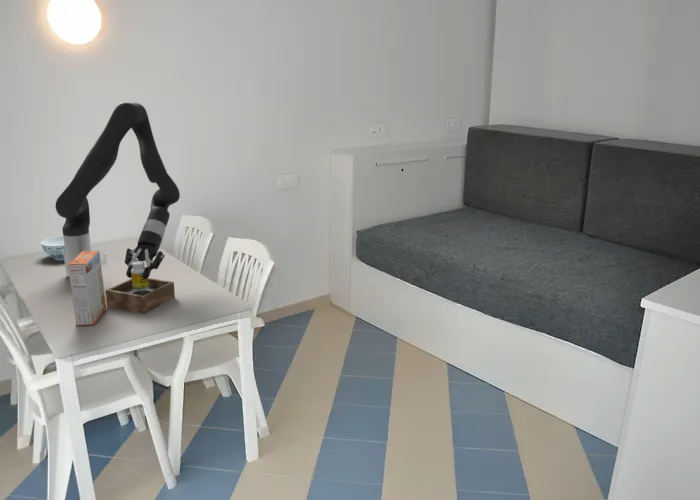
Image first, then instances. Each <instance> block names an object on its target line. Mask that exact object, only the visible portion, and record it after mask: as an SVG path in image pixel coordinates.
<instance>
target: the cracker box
mask: <svg viewBox="0 0 700 500" xmlns="http://www.w3.org/2000/svg"><path fill="white" fill-rule="evenodd" d="M100 253H101V252H100V250H91V251H82V252H81V253H80V254H79V255H78V256H77V257H76V258H75V259H74V260H72V261H71V262H70V263H69V264H68V271H69V277H68V278H69V284H70V290H71V297H72V304H73V305H72V306H73V311H74V317H75V325H76V326H94V325H96V323H97V322H98V320H99V319H100V318H101V316H102V315H103V314H104V313H105V311H106V310H107V301H106V292H105V288H104V287H105V286H104V278H103V270H102V262H101V255H100Z"/></svg>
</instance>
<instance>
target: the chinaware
mask: <svg viewBox="0 0 700 500" xmlns="http://www.w3.org/2000/svg"><path fill="white" fill-rule="evenodd" d="M40 246H41V247H42V249H43V251H44V252H45V254H46V255H48V256H49V257H51V258H53V260H55V261H62V262H63V261H64V252H65V245H64V238H63V235H60V236H53V237H50V238H46V239H44V240H41V242H40Z"/></svg>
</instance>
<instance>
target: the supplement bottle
mask: <svg viewBox="0 0 700 500" xmlns="http://www.w3.org/2000/svg"><path fill="white" fill-rule="evenodd" d="M132 267H133V268H132V269H131V279H132V286H133V290H135V291H143V290H147V289H148V287H149V284H148V278H149V277H148V278H147V280H146V279H143V278H142V275H143V273H144V270H145V261H135V262H133V263H132Z"/></svg>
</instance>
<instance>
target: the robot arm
mask: <svg viewBox="0 0 700 500" xmlns="http://www.w3.org/2000/svg"><path fill="white" fill-rule="evenodd" d="M130 130H132V131H133V133H134V135H135V137H136V139H137V142H138V147H139V154H140V161H141V164H142V168H143V170H144V172H145V174H146V176H147V179H148V180H149V182H150V183H152V184H156V185H157V187H158V188H159V189H157V190H156V191H155V192H154V193H153V195H152V198H151V203H150V211H149V213H148V216H147V219H146V221H145V223H144V224H143V227H142V230H141V233H140V235H139V238H138V240H137V245H136V247H135V248H134V249H130V248H126V253H125V259H124V264H125V265H126V266H127V270H126V271H125V272H126V274H125V275H126V276H127V277H128V278H129V279H132V277H131V269H132V268H133V267H132V263H133V262H135V261H144V262H145V263H146V265H145V266H146V267H145V266H144V267H145V270H144V273H143V275H142V278H143V279H146V280H147V278H150V275H151V272H152V271H153V270H158V269H159V267H160V265H161V264H162V262H163V260H164V258H165V254H164V253H163V252H162V251H161V250H160V251H159V249H160V248H161V244H162V242H163V238H164V237H165V233H166V229H167V226H168V222H169V220H170V211H169V207H170V206H171V205H173V204H175V203H178V201H179V200H180V198H181V196H180V195H181V194H180V190H179V187H178V186H177V183H175V182H174V179H172V177H171V176H170V175H169V174H168V171H167V169H166V166H165V164H164V163H163V160H162V157H161V155H160V153H159V150H158V147H157V144H156V141H155V138H154V134H153V131H152V126H151V123H150V118H149V115H148V112H147V110H146V108H145V107H144V106H143V104H141V103H140V102H134V101H133V102H132V101H122V102H120V103H118V104H117V105H116V106H115V107H114V109H113V111H112V113H111V114H110V117H109V119H108V121H107V123H106V125H105V127H104V129H103V131H102V132H101V134H100V135H99V136H98V138H97V140H96V141H95V143H94V145H93V146H92V147H91V149H90V150H89V152H88V153H87V155H86V156H85V158H84V160H83V162H82V163H81V165H80V166H79V168H78V170H77V171H76V173H75V174H74V177H73V178H72V180H71V182H70V183H69V184H68V185H67V187H66V188H65V189H64V190H63V192H61V194H60V195H59V196H58V197H57V199H56V201H55V211H56V214H57V215H58V216H60V217H62V218H64V219H65V222H64V224H63V226H62V236H63V238H64V245H65V252H64V260H63V261H64V267H65V276H66V277H68V278H69V271H68V264H69V263H70V262H71V261H72V260H74V259H75V258H76V257H77V256H78V255H79V254H80V253H81V252H82V251H92V245H91V236H90V226H91V225H90V224H91V219H90V218H91V217H90V216H91V213H90V204H89V199H88V197H87V196H89V193H90V192H91V191H92V190H93V189H94V188H95V187H96V186H98V184H100V183H101V181H103V180H104V178H106V176H107V175H108V173H109V172H110V171H111V169H112V167H113V166H114V165H115V163H116V161H117V160H118V159H117V158H118V155H119V149H120V145H121V142H122V141H123V139H124V138H125V136H126V135H127V134H128V132H129V131H130Z"/></svg>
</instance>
